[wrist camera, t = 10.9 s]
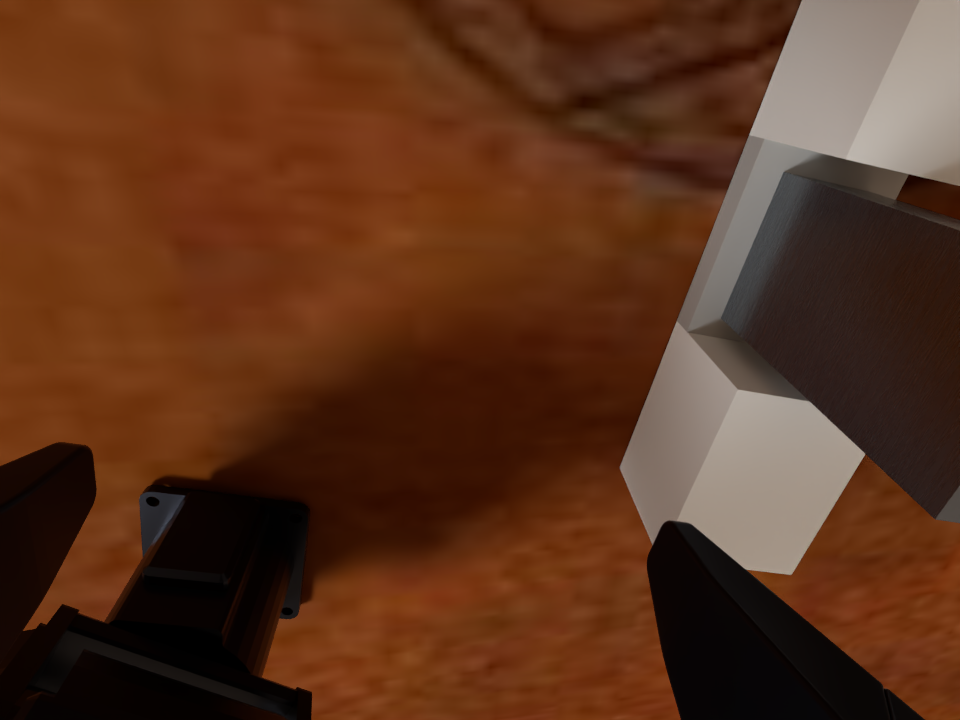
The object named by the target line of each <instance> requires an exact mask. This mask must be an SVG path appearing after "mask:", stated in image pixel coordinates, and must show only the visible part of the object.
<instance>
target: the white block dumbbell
mask: <svg viewBox="0 0 960 720" xmlns="http://www.w3.org/2000/svg"><path fill="white" fill-rule="evenodd" d="M783 172H787V173H792V174H796V175H800V176H805V177H809V178H813V179H818V180H822V181H826V182H831V183H835V184H839V185H844V186H848V187H852V188H856V189H861V190H865V191H869V192H872V193H876V194H879V195H882V196H885V197H888V198H892V199H895V200H896V198H897V196H898V194H899V192H900V190H901V188H902V186H903V184H904V183H905V181H906V179H907V177H908V175H909V174H911V175H915V176H919V177H923V178H928V179H932V180H936V181H941V182H945V183H949V184H953V185H958V186H960V0H802V1H801V4H800V6H799V9H798V12H797V14H796V17H795V19H794V22H793V24H792V27H791V29H790V32H789V35H788V37H787V40H786V42H785V45H784V47H783V50H782V53H781V55H780V58H779V60H778V63H777V65H776V68H775V71H774V73H773V76H772V78H771V81H770V83H769V86H768V88H767V91H766V94H765V96H764V99H763V101H762V104H761V106H760V109H759V112H758V114H757V117H756V119H755V122H754V124H753V127H752V129H751V132H750V135H749V137H748V140H747V142H746V145H745V147H744V150H743V153H742V155H741V158H740V160H739V163H738V165H737V168H736V170H735V173H734V176H733V178H732V181H731V183H730V186H729V188H728V191H727V194H726V196H725V199H724V201H723V204H722V206H721V209H720V212H719V214H718V217H717V219H716V222H715V224H714V227H713V229H712V232H711V235H710V237H709V240H708V242H707V245H706V247H705V250H704V253H703V255H702V258H701V260H700V263H699V265H698V268H697V270H696V273H695V276H694V278H693V281H692V283H691V286H690V288H689V291H688V294H687V296H686V299H685V301H684V304H683V306H682V309H681V311H680V314H679V317H678V319H677V322H676V324H675V327H674V329H673V332H672V335H671V337H670V340H669V342H668V345H667V347H666V350H665V353H664V355H663V358H662V360H661V363H660V365H659V368H658V370H657V373H656V376H655V378H654V381H653V383H652V386H651V388H650V391H649V394H648V396H647V399H646V401H645V404H644V406H643V409H642V411H641V414H640V417H639V419H638V422H637V424H636V427H635V429H634V432H633V435H632V437H631V440H630V442H629V445H628V447H627V450H626V452H625V455H624V458H623V460H622V463H621V465H620V470H621V472H622V475H623V477H624V479H625V482H626V484H627V486H628V489H629V491H630V493H631V496H632V498H633V500H634V503H635V505H636V507H637V510H638V512H639V514H640V517H641V519H642V521H643V524H644V526H645V528H646V531H647V533H648V535H649V538H650V540H651V542H652V545H653V543H654V541H655V539H656V537H657V534H658V532H659V530H660V528H661V526H662V524H663V523H664V522H666V521H668V520H673V521H680V522H687V523H690V524H692V525H693V526H694V527H696V528H697V529H698V530H699V531H700V532H702V533H703V534H704V535H705V536H706V537H707V538H709V539H710V540H711V541H712V542H713V543H715V544H716V545H717V546H718V547H719V548H721V549H722V550H723V551H724V552H725V553H727V554H728V555H729V556H730V557H731V558H733V559H734V560H735V561H736V562H737V563H738V564H740V565H741V566H742V567H743V568H744V569H746V570H755V571H763V572H771V573H780V574H788V575H792V573H793V571H794V570H795V568H796V567H797V565H798V563H799V562H800V560H801V558H802V557H803V555H804V554H805V552H806V550H807V549H808V547H809V545H810V544H811V542H812V540H813V539H814V537H815V536H816V534H817V532H818V531H819V529H820V527H821V526H822V524H823V523H824V521H825V519H826V518H827V516H828V514H829V513H830V511H831V509H832V508H833V506H834V505H835V503H836V501H837V500H838V498H839V496H840V495H841V493H842V492H843V490H844V488H845V487H846V485H847V483H848V482H849V480H850V478H851V477H852V475H853V474H854V472H855V470H856V469H857V467H858V465H859V464H860V462H861V461H862V459H863V457H864V456H865V453H864V452H863V451H862V450H861V449H860V448H859V447H858V446H857V445H855V444H854V443H853V442H852V441H851V440H850V439H849V438H848V437H847V436H846V435H845V434H844V433H843V432H842V431H841V430H839V429H838V428H837V427H836V426H835V425H834V424H833V423H832V422H831V421H830V420H829V419H828V418H827V417H826V416H825V415H823V414H822V413H821V412H820V411H819V410H818V409H817V408H816V407H815V406H814V405H813V404H812V403H811V402H810V401H809V400H808V399H806V398H805V397H804V396H803V395H802V394H801V393H800V392H799V391H798V390H797V389H796V388H795V387H794V386H793V385H792V384H790V383H789V382H788V381H787V380H786V379H785V378H784V377H783V376H782V375H781V374H780V373H779V372H778V371H777V370H776V369H775V368H773V367H772V366H771V365H770V364H769V363H768V362H767V361H766V360H765V359H764V358H763V357H762V356H761V355H760V354H759V353H757V352H756V351H755V350H754V349H753V348H752V347H751V346H750V345H749V344H748V343H747V342H746V341H745V340H744V339H743V338H741V337H740V336H739V335H738V334H737V333H736V332H735V331H734V330H733V329H732V328H731V327H730V326H729V325H728V324H727V323H726V322H724V321H723V320H722V319H721V316H722V314H723V312H724V309H725V307H726V305H727V302H728V300H729V298H730V295H731V293H732V291H733V288H734V286H735V284H736V281H737V279H738V277H739V274H740V272H741V270H742V267H743V265H744V263H745V260H746V258H747V256H748V253H749V251H750V249H751V246H752V244H753V242H754V239H755V237H756V235H757V232H758V230H759V228H760V225H761V223H762V221H763V218H764V216H765V214H766V212H767V209H768V207H769V205H770V202H771V200H772V198H773V195H774V193H775V191H776V188H777V186H778V184H779V181H780V179H781V177H782V174H783Z"/></svg>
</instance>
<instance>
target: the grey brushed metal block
mask: <svg viewBox="0 0 960 720" xmlns="http://www.w3.org/2000/svg"><path fill="white" fill-rule="evenodd" d="M721 319H722V320H723V321H724V322H726V323H727V324H728V325H729V326H730V327H731V328H732V329H733V330H734V331H735V332H736V333H737V334H738V335H739V336H740V337H741V338H743V339H744V340H745V341H746V342H747V343H748V344H749V345H750V346H751V347H752V348H753V349H754V350H755V351H756V352H757V353H759V354H760V355H761V356H762V357H763V358H764V359H765V360H766V361H767V362H768V363H769V364H770V365H771V366H772V367H773V368H775V369H776V370H777V371H778V372H779V373H780V374H781V375H782V376H783V377H784V378H785V379H786V380H787V381H788V382H789V383H790V384H792V385H793V386H794V387H795V388H796V389H797V390H798V391H799V392H800V393H801V394H802V395H803V396H804V397H805V398H806V399H808V400H809V401H810V402H811V403H812V404H813V405H814V406H815V407H816V408H817V409H818V410H819V411H820V412H821V413H822V414H823V415H825V416H826V417H827V418H828V419H829V420H830V421H831V422H832V423H833V424H834V425H835V426H836V427H837V428H838V429H839V430H841V431H842V432H843V433H844V434H845V435H846V436H847V437H848V438H849V439H850V440H851V441H852V442H853V443H854V444H855V445H857V446H858V447H859V448H860V449H861V450H862V451H863V452H864V453H865V454H866V455H867V456H868V457H869V458H870V459H871V460H872V461H874V462H875V463H876V464H877V465H878V466H879V467H880V468H881V469H882V470H883V471H884V472H885V473H886V474H887V475H888V476H890V477H891V478H892V479H893V480H894V481H895V482H896V483H897V484H898V485H899V486H900V487H901V488H902V489H903V490H904V491H906V492H907V493H908V494H909V495H910V496H911V497H912V498H913V499H914V500H915V501H916V502H917V503H918V504H919V505H920V506H921V507H923V508H924V509H925V510H926V511H927V512H928V513H929V514H930V515H931V516H932V517H933V518H934V519H936V520H943V521H950V522H957V523H960V220H958V219H955V218H952V217H949V216H946V215H943V214H939V213H936V212H933V211H930V210H927V209H923V208H920V207H917V206H914V205H911V204H908V203H904V202H901V201H898V200H895V199H892V198H888V197H885V196H882V195H879V194H876V193H872V192H869V191H865V190H861V189H856V188H852V187H848V186H844V185H839V184H835V183H831V182H826V181H822V180H818V179H813V178H809V177H805V176H800V175H796V174H792V173H787V172H783V174H782V177H781V179H780V181H779V184H778V186H777V188H776V191H775V193H774V195H773V198H772V200H771V202H770V205H769V207H768V209H767V212H766V214H765V216H764V218H763V221H762V223H761V225H760V228H759V230H758V232H757V235H756V237H755V239H754V242H753V244H752V246H751V249H750V251H749V253H748V256H747V258H746V260H745V263H744V265H743V267H742V270H741V272H740V274H739V277H738V279H737V281H736V284H735V286H734V288H733V291H732V293H731V295H730V298H729V300H728V302H727V305H726V307H725V309H724V312H723V314H722V316H721Z"/></svg>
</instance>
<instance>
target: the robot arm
mask: <svg viewBox="0 0 960 720" xmlns="http://www.w3.org/2000/svg"><path fill="white" fill-rule="evenodd" d="M95 497H96V480H95V470H94V461H93V454H92V451H91V449H90V448H89V447H88V446H86V445H81V444H73V443H65V442H58V443H55V444H52V445H49V446H47V447H45V448H42V449H40V450H38V451H35V452H33V453H30V454H28V455H26V456H23V457H21V458H19V459H16V460H14V461H11V462H9V463H7V464H4V465H2V466H0V720H311V708H312V692H310V691H307V690H304V689H301V688H299V687H297V688H296V689H293V688H290V687H287V686H284V685H281V684H279V683H276V682H273V681H270V680H267V679H264V678H262V675H263V672H264V668H265V665H266V662H267V658H268V655H269V651H270V648H271V645H272V641H273V638H274V634H275V631H276V628H277V624H278V621H279V618H281V619H292V618H295V617H296V616H297V615H298V613H299V609H300V605H301V595H302V586H303V576H304V567H305V557H306V547H307V538H308V528H309V519H310V510H309V508H308V507H307V506H306V505H305V504H303V503H299V502H291V501H283V500H275V499H267V498H258V497H250V496H242V495H234V494H225V493H217V492H209V491H201V490H193V489H184V488H176V487H168V486H160V485H151V486H148V487H147V488H146V489H145V490H144V492H143V493H142V494H141V496H140V499H139V503H140V519H141V535H142V550H143V558H142V560H141V562H140V563H139V565H138V567H137V568H136V570H135V572H134V573H133V575H132V577H131V578H130V580H129V582H128V583H127V585H126V587H125V588H124V590H123V592H122V593H121V595H120V597H119V598H118V600H117V602H116V603H115V605H114V607H113V608H112V610H111V612H110V613H109V615H108V617H107V618H106V620H105V622H102V621H99V620H97V619H94V618H91V617H88V616H85V615H82V614H80V613H78V612H79V610H78V609H75V608H72V607H69V606H67V605H64V604H62V605H61V606H60V608H59V609H58V610H57V612H56V613H55V614H54V616H53V617H52V618H51V620H50V621H49V622H48V624H47V625H45V624H43V623H40V624H39V625H38V627H37V628H36V629H32V630H27V631H23V629H24V628H25V626H26V625H27V623H28V622H29V620H30V619H31V617H32V616H33V614H34V613H35V611H36V610H37V608H38V606H39V605H40V603H41V602H42V600H43V598H44V597H45V595H46V593H47V591H48V590H49V588H50V586H51V584H52V582H53V580H54V578H55V577H56V575H57V573H58V571H59V569H60V567H61V565H62V563H63V561H64V559H65V557H66V556H67V554H68V552H69V550H70V548H71V546H72V544H73V542H74V540H75V538H76V536H77V535H78V533H79V531H80V529H81V527H82V525H83V523H84V521H85V519H86V517H87V515H88V514H89V512H90V510H91V508H92V506H93V503H94V501H95ZM152 497H156V498H157V499H158V500H156V499H154V498H152ZM293 514H299V515H300V516H294V515H293ZM647 572H648V578H649V583H650V589H651V594H652V600H653V605H654V611H655V616H656V622H657V627H658V633H659V639H660V644H661V649H662V653H663V658H664V662H665V665H666V669H667V673H668V676H669V680H670V683H671V687H672V690H673V694H674V697H675V700H676V704H677V707H678V711H679V714H680V718H681V720H925V719H923V718H922V717H921V716H920V715H919V714H917V713H916V712H915V711H914V710H912V709H911V708H910V707H909V706H908V705H907V704H905V703H904V702H903V701H902V700H901V699H899V698H898V697H897V696H896V695H895V694H894V693H892V692H891V691H890V690H889V689H884V688H883V685H882V684H881V683H880V682H879V681H878V680H877V679H876V678H874V677H873V676H872V675H871V674H870V673H868V672H867V671H866V670H865V669H864V668H862V667H861V666H860V665H859V664H858V663H856V662H855V661H854V660H853V659H852V658H851V657H849V656H848V655H847V654H846V653H845V652H843V651H842V650H841V649H840V648H839V647H837V646H836V645H835V644H834V643H833V642H831V641H830V640H829V639H828V638H827V637H825V636H824V635H823V634H822V633H821V632H820V631H818V630H817V629H816V628H815V627H814V626H812V625H811V624H810V623H809V622H808V621H806V620H805V619H804V618H803V617H802V616H800V615H799V614H798V613H797V612H796V611H794V610H793V609H792V608H791V607H790V606H789V605H787V604H786V603H785V602H784V601H783V600H781V599H780V598H779V597H778V596H777V595H775V594H774V593H773V592H772V591H771V590H769V589H768V588H767V587H766V586H765V585H764V584H762V583H761V582H760V581H759V580H758V579H756V578H755V577H754V576H753V575H752V574H750V573H749V572H748V571H747V570H746V569H744V568H743V567H742V566H741V565H740V564H738V563H737V562H736V561H735V560H734V559H733V558H731V557H730V556H729V555H728V554H727V553H725V552H724V551H723V550H722V549H721V548H719V547H718V546H717V545H716V544H715V543H713V542H712V541H711V540H710V539H709V538H707V537H706V536H705V535H704V534H703V533H702V532H700V531H699V530H698V529H697V528H696V527H694V526H693V525H692V524H690V523H687V522H680V521H673V520H668V521H666V522H664V523H663V524H662V526H661V528H660V530H659V532H658V534H657V537H656V539H655V541H654V543H653V545H652V548H651V550H650V552H649V555H648V558H647ZM287 607H288V608H287Z"/></svg>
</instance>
